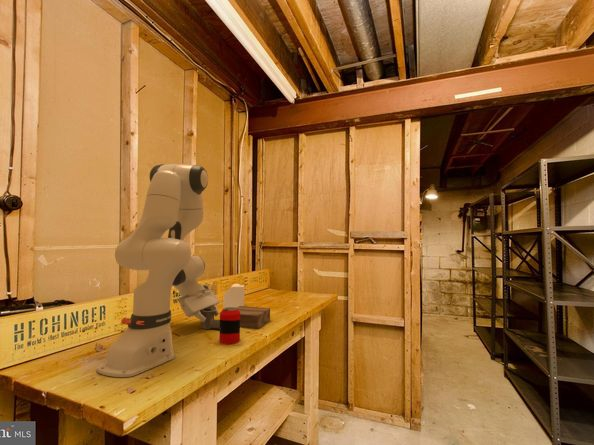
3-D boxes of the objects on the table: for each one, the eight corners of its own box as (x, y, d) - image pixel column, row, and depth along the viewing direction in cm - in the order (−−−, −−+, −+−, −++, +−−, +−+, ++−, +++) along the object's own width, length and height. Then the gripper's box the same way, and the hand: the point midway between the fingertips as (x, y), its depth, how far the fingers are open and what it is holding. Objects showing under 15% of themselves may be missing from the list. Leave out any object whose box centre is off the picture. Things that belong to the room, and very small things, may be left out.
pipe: (221, 332, 120) (221, 312, 121) (194, 329, 124) (195, 310, 124) (228, 328, 126) (229, 309, 127) (203, 325, 130) (203, 307, 130)
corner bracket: (242, 308, 160) (243, 286, 160) (222, 308, 159) (222, 286, 160) (245, 304, 170) (245, 283, 171) (225, 304, 170) (226, 283, 170)
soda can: (215, 342, 109) (215, 309, 109) (229, 336, 115) (229, 305, 116) (230, 346, 105) (230, 312, 106) (243, 339, 112) (244, 308, 112)
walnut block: (257, 330, 124) (257, 316, 125) (224, 326, 129) (224, 313, 129) (270, 321, 138) (270, 308, 138) (239, 318, 142) (239, 305, 143)
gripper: (181, 293, 118) (201, 319, 115) (210, 285, 138) (228, 307, 135) (172, 303, 120) (191, 329, 116) (202, 294, 139) (219, 316, 136)
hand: (211, 317), depth 125 cm, fingers open, 8 cm apart
